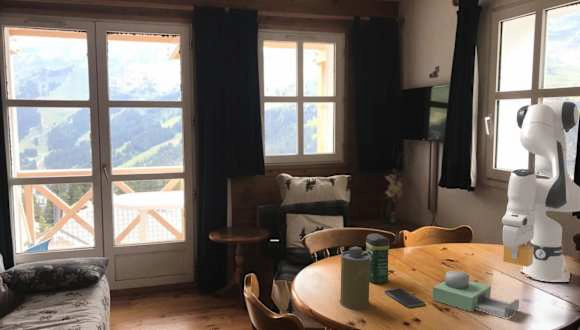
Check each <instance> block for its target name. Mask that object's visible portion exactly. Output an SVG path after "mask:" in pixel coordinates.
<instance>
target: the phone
mask: <svg viewBox="0 0 580 330" xmlns="http://www.w3.org/2000/svg"><path fill="white" fill-rule="evenodd" d="M383 293H384V295H385V296H387V297H389V298H391V299H392V300H393V301H395V302H397V303H399V304H400V305H401V306H403V307H404V308H406V307H407V308H408V309H412V307H413V308H417V307H418V306H419V307H423V305H424V306H425V305H426V302H425V301H424V300H422V299H420V298H418V297H417V296H415V295H413V294H411V292H408V291H407V290H405V289H403V288H393V289H388V290H387V289H386V290H384V292H383ZM419 307H418V308H419Z"/></svg>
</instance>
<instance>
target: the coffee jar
mask: <svg viewBox="0 0 580 330" xmlns="http://www.w3.org/2000/svg"><path fill="white" fill-rule="evenodd" d="M365 244H366V246H365V247H366V252H369V254H370V255H371V258H370V279H369V282H371V283H373V284H385V283H387V282H388V281H389V249H390V239H389V238H388V237H386V236H384V235H381V234H379V233H369V234H367V236H366V240H365Z"/></svg>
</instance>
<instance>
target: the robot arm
mask: <svg viewBox="0 0 580 330" xmlns="http://www.w3.org/2000/svg"><path fill="white" fill-rule="evenodd" d="M579 117H580V111H579V108H578V106H577V105H576V104H575V103H574V102H572V101H563V102H562V101H561V102H558V101H557V102H556V101H555V102H553V101H552V102H545V103H544V102H543V103H538V104H531V105H530V104H527V105H524V106H521V107H520V108H519V109H518V110H517V112H516V123H517V126H518V128H519V129H520V135H519V136H520V138H519V141H520V144H521V145H522V147H523V148H524V149H525V150H526V151H528V152H529V153H531V154H534V155H535V157H534V167H535V168H534V169H535V170H536V171H537V173H540V174H541V175H543V176H545V177H547V178H540V177H539V178H537V175H536V174H537V173H536V171H534V170H531V169H528V168H525V169H524V168H519V169H515V170H512V171H511V173H510V177H509V180H508V183H507V186H506V187H507V189H506V197H507V198H508V202H507V205H506V211H505V214H504V215H503V217H502V218H501V224H503V227H502V243H503V248H504V247H508V248H510V249H511V253H512V255H511V257H512V258H515V259H516V258H518V254H519V253H518V246H520V245H527V246H533V247H534V251H533V264H532V265H530V266H528V267H526V266H522V268H523V270H521V269H522V268H519V269H520V270H521V271H523V272H524V273H526V274H528V275H530V276H532V277H536V278H540V279H547V280H558V279H563V274H564V273H566V272H567V270H568V269H566V263H567V262H566V259H565V257H564V255H563V248H564V245H563V243H562V238H563V228H562V225H561V224H560V223H559V222H557V220H554V219H552V218H550V217H549V216H547V213H546V212H559V213H574V212H580V186H579V185H578V184H576V183H575V182H574V181H573V179H572V178H571V176H570V174H569V171H568V169H567V139H566V133H569V132H570V130H572V129H573V128H574V127H575V126H576V125H577V124H578V121H579ZM528 242H529V244H528Z"/></svg>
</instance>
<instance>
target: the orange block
mask: <svg viewBox="0 0 580 330" xmlns="http://www.w3.org/2000/svg"><path fill="white" fill-rule="evenodd" d="M533 251H534V247H533V246H529V245H528V244H527V245H520V246H518V253H519V254H518V258H516V259H515V258H512V257H511V255H512V253H511V249H510V248H508V247H504V246H503V258H502V259H503V260H502V261H503V262H504V263H509V264H511V265H512V264H513V265H518V266H522V267H523V266H526V267H528V266H530V265H532V264H533Z"/></svg>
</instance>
